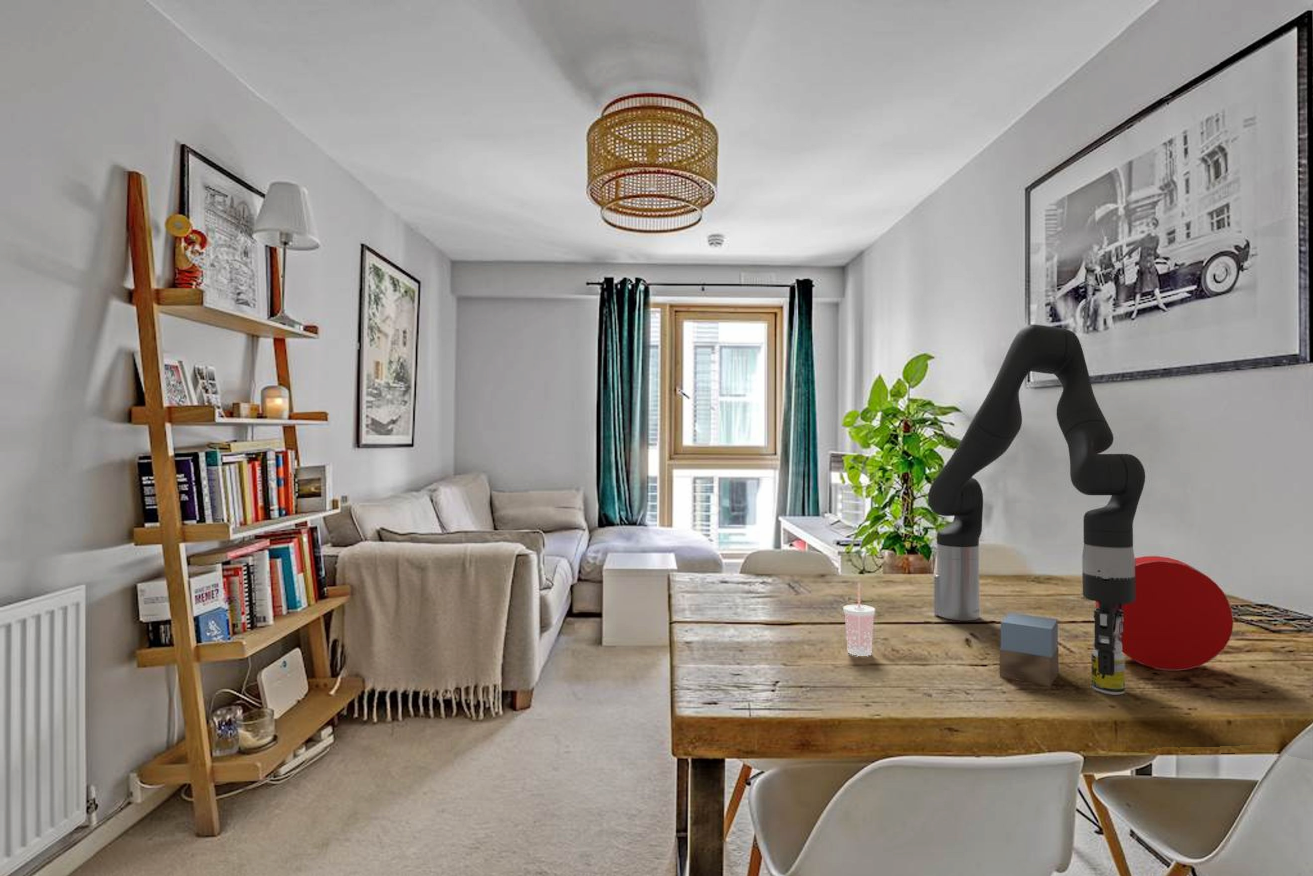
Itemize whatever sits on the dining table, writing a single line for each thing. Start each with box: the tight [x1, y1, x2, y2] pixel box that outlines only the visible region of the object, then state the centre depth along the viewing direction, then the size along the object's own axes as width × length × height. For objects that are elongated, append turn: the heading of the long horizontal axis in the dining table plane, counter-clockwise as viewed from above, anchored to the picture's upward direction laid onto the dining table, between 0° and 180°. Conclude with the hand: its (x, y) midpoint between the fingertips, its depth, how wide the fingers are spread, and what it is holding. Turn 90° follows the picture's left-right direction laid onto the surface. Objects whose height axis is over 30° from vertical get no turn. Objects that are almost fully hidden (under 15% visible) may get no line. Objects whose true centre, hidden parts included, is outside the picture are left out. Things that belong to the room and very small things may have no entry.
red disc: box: [1095, 555, 1234, 671], centre depth 129 cm, size 20×6×20 cm, turn 66°
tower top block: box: [1000, 612, 1059, 658], centre depth 124 cm, size 8×8×5 cm
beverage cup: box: [842, 582, 876, 657], centre depth 137 cm, size 6×6×14 cm
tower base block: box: [998, 646, 1060, 687], centre depth 124 cm, size 8×8×5 cm
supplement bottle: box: [1090, 638, 1126, 696], centre depth 117 cm, size 5×5×8 cm
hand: (1109, 667), depth 116 cm, fingers open, 8 cm apart
